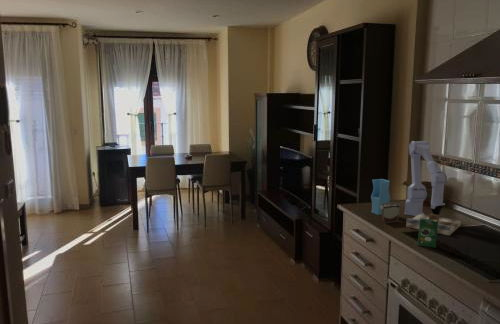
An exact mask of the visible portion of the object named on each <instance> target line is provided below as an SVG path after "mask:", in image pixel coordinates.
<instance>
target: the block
mask: <svg viewBox="0 0 500 324" xmlns="http://www.w3.org/2000/svg"><path fill="white" fill-rule="evenodd" d="M428 215H429V219H431V220H438V222H439V217H440V214H433V213H432V212H431V213H430V214H428Z"/></svg>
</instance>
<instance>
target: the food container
mask: <svg viewBox="0 0 500 324" xmlns="http://www.w3.org/2000/svg"><path fill="white" fill-rule="evenodd" d="M380 209H381V211H382V215H381V222H382V224H389V223H397V222H399V216H400V210H401V203H396V202H389V203H382V204H381V207H380Z"/></svg>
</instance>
